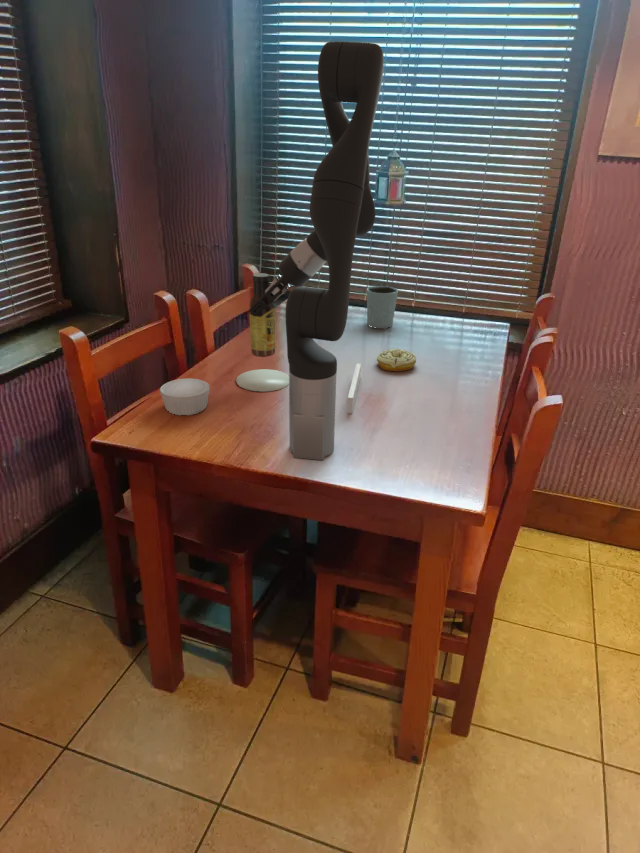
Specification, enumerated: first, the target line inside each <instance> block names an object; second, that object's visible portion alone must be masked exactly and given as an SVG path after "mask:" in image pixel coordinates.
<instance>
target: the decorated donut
mask: <svg viewBox="0 0 640 853" xmlns="http://www.w3.org/2000/svg"><path fill="white" fill-rule="evenodd" d="M376 361H377V363H378V366H379V367H380V368H381V369H382V370H384V371H387V372H388V371H389V372H399V373H400V372H406V371H408V370H411V369H413V367H415V365H416V363H417V356H416V355H415V354H414V353H413V352H411V351H408V350H405V349H400V348H391V349H389V348H388V349H386V350H383V351H381V353H379V354H378V355H377V356H376Z"/></svg>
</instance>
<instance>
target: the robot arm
mask: <svg viewBox="0 0 640 853" xmlns="http://www.w3.org/2000/svg"><path fill="white" fill-rule="evenodd" d="M318 57H319V58H318V65H317V82H318V83H317V84H318V89H319V90H318V91H319V96H320V100H321V104H322V105H321V106H322V109H323V113H324V118H325V122H326V127H327V131H328V134H329V137H330V141H331V146H332V147H331V149H330V150H329V151H328V152H327V153H326V155H325V157H323V159H322V161H321V162H320V163H319V165H318V166H317V168H316V170H315V172H314V176H313V179H312V187H311V194H310V202H309V215H310V220H311V224H312V226H313V228H314V230H312V231H311V233H310V234H309V235H308V236H307V237H305V238H304V239H303V240H302V241H301V242H299V243H298V244H297V245H296V246H295V247H294V248H292V250H291V251H290V252H289V253H288V254H287V255H286V256H285V257H284V258H283V259H282V260H281V261H280V262H279V264H278V270H279V272H280V273H281V275H280V274H278V275H277V276H276V277H275V278H273V280H272V282H271V283H269V287H268V288H267V289H266V290H265V294H264V295H263V296H262V297H260V298H259V300H258V302H257V303H256V304H255V305H254V306H252V307H251V308H250V307H249V310H248V312H249V314H250V313H251V314H252V315H253V316H257V315H258V314H259V313H260V312H261V311H262V310H263V309H264V308H266V307H268V306H269V304H271V303H272V302H273V303H274V302H275V301H277V300H278V299H279V298H280V297H281V296H282V295H283V294H285V293H286V292H287V291H288V290H289V288H291V285H292V286H293V287H294V288H292V290H290V292H289V294H288V296H287V299H286V303H285V304H286V306H285V330H286V331H285V332H286V334H285V335H286V352H287V353H286V355H287V361H288V368H289V371H288V373H289V374H288V375H289V385H288V388H289V390H288V392H289V394H288V395H289V398H288V400H289V402H288V404H289V405H288V406H289V410H288V414H289V421H288V422H289V427H288V428H289V451H290V452H291V453H292V457H293V458H295V459H296V458H297V459H306V460H308V459H309V460H319V461H323V460H324V459H325V458H326V457H328V456H330V455H331V454H332V453H333V452H334V451H335V434H336V433H335V428H336V427H335V426H336V403H337V402H336V398H337V394H336V393H337V375H338V372H337V371H338V360H337V357H336V356H335V355H334V354H333V353H332V352H330V351H329V350H327V349H325V348H323V347H322V346H320V345H319V344H318V343H317V342H316V341H315V340H318V341H327V342H328V341H329V342H337V341H339V340H340V339H341V338H342V336H343V335H344V331H345V328H346V326H347V319H348V314H349V303H350V294H351V293H350V291H351V279H352V266H353V257H354V252H355V244H356V243H355V242H356V238H357V237H361V236H364V235H366V234H368V233H369V232H370V231H371V230H372V228H373V226H374V225H375V224H374V223H375V220H376V207H375V202H374V198H373V193H372V190H371V184H370V183H371V182H370V179H371V176H370V175H371V173H370V172H371V171H370V170H371V169H370V156H369V150H370V149H369V148H370V142H371V136H372V133H373V127H374V123H375V122H374V121H375V117H376V112H377V108H378V104H379V103H378V102H379V98H380V94H381V90H382V89H381V88H382V83H383V82H382V81H383V78H384V77H383V76H384V68H385V67H384V66H385V61H384V60H385V56H384V52H383V49H382V47H381V46H380V45H379V44H377V43H374V42H372V43H371V42H360V41H359V42H358V41H340V40H337V41H334V40H333V41H328V42H325V43H324V45H323V46H322V49H321V50H320V53H319V56H318ZM343 103H347V104H349V103H350V104H351V103H352V104H355V108H354V112H353V114H352V117H351V119H350V120H349V116H348V115H347V113H346V111H345V108H344V105H343ZM326 263H327V264H328V271H329V272H328V275H329V276H328V278H329V279H328V280H329V281H328V288H327V289H326V288H318V287H312V286H311V287H310V286H309V287H308V286H304V285H305V284H306V283H307V282H308V281H309V280H310V279H311V278H313V277H314V275H315V274H317V272H319V271H320V270H321V269H322V268H323V266H324V265H325V264H326ZM264 297H267V298H268V299H269V300H270V301H269V302H267V301H266V300H265V299H264Z"/></svg>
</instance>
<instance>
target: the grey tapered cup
mask: <svg viewBox="0 0 640 853" xmlns="http://www.w3.org/2000/svg"><path fill="white" fill-rule="evenodd" d="M398 295H399V290H398V288H395V287H392V286H385V285H373V286H369V287H367V288H366V299H367V300H366V307H367V308H366V325H367V324H368V325H370V326H372V327H376V328H388V327H391V326H392V327H393V325H394V317H395V312H396V305H397V299H398ZM368 325H367V326H368ZM392 327H391V328H392ZM388 329H389V328H388Z"/></svg>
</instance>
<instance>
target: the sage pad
mask: <svg viewBox="0 0 640 853" xmlns="http://www.w3.org/2000/svg"><path fill="white" fill-rule="evenodd" d="M236 384H237V386H238V385H239V386H238V387H240V388H241V387H242V388H241V389H243V388H244V390H246V391H250V392H257V391H258V392H260V393H262V392H265V393H267V392H274V391H278V390H282V389H284V388H286V387H289V374H288V373H286V372H284V371H280V370H276V369H269V368H268V369H267V368H266V369H265V368H263V369H262V368H260V369H252V370H248V371H245V372H242V373H241V374H239V375H238V376H237V377H236Z"/></svg>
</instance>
